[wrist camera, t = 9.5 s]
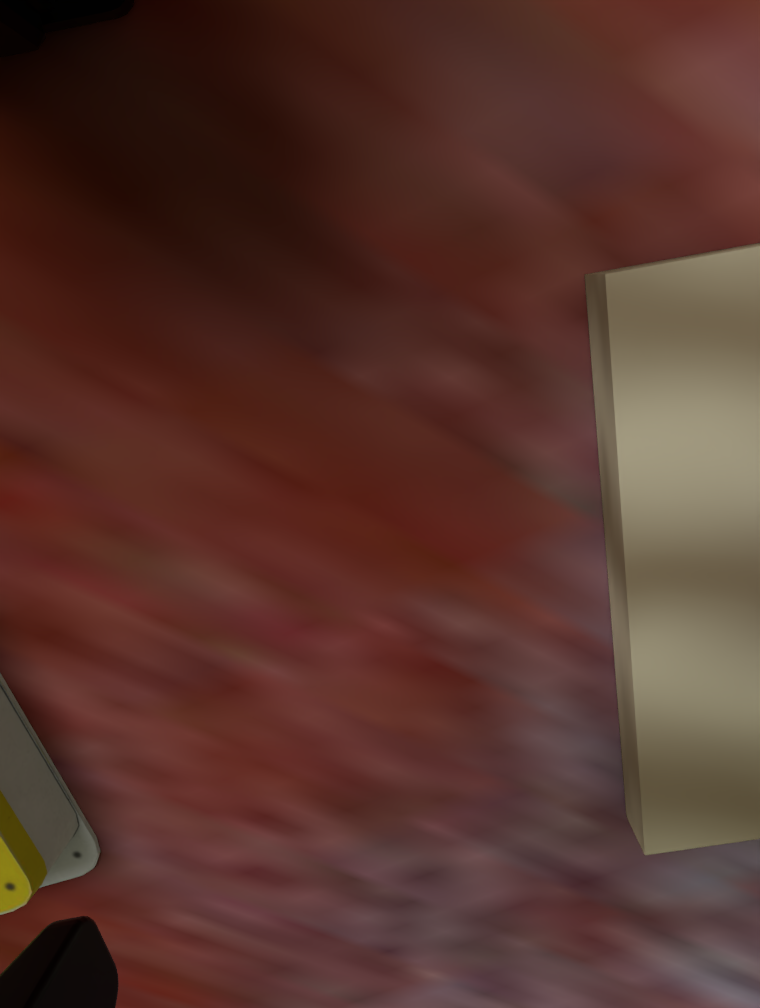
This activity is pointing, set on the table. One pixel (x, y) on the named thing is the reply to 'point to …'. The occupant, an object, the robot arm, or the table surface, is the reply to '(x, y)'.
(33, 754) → the emergency button
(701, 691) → the switch plate
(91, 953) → the robot arm
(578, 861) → the table surface
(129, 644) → the table surface
